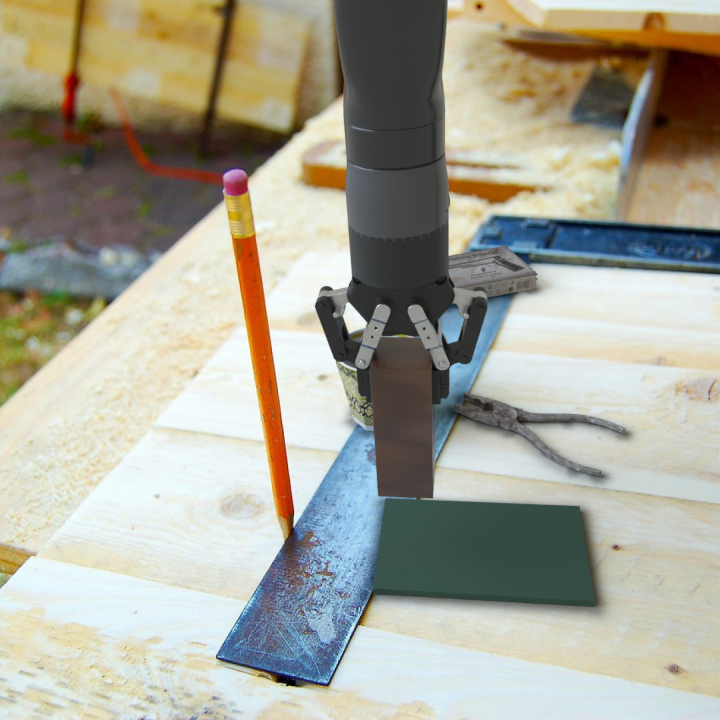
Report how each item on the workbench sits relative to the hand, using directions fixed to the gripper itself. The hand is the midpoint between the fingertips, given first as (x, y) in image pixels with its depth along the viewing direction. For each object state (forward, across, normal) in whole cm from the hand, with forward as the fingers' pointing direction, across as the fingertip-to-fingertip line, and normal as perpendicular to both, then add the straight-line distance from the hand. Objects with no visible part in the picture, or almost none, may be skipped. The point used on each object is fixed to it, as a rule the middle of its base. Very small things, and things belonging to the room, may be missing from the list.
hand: (404, 397), depth 66 cm
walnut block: (+9, 0, 0) cm, 9 cm away
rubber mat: (+18, +7, 0) cm, 20 cm away
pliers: (+18, +13, +18) cm, 29 cm away
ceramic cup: (+19, -4, +20) cm, 28 cm away
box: (+19, +6, +55) cm, 58 cm away
